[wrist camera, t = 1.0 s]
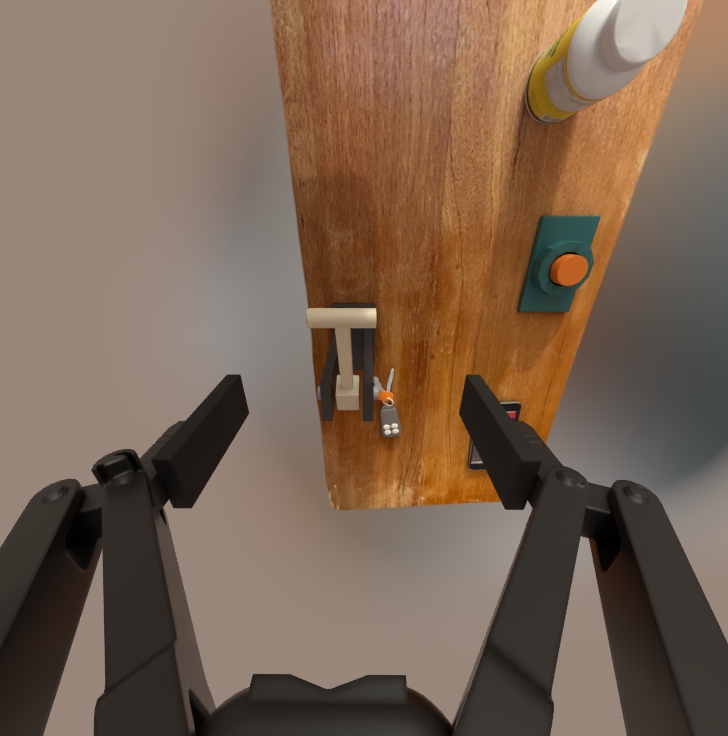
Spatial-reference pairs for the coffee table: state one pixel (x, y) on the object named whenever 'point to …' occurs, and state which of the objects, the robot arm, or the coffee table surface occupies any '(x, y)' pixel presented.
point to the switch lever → (343, 346)
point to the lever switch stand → (360, 361)
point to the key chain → (388, 410)
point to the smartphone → (474, 457)
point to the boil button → (568, 269)
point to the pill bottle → (599, 55)
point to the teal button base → (549, 245)
